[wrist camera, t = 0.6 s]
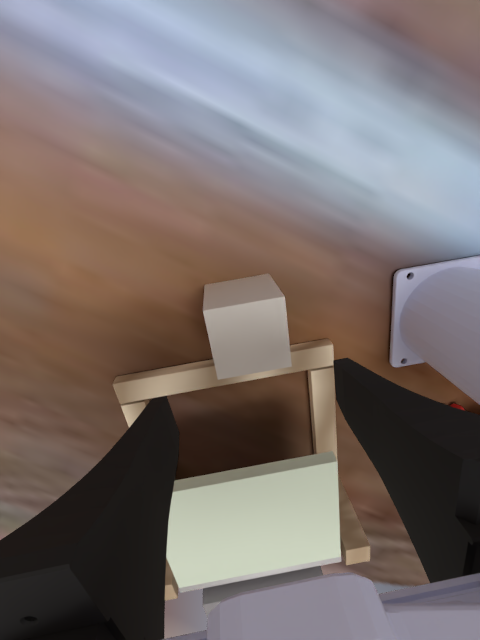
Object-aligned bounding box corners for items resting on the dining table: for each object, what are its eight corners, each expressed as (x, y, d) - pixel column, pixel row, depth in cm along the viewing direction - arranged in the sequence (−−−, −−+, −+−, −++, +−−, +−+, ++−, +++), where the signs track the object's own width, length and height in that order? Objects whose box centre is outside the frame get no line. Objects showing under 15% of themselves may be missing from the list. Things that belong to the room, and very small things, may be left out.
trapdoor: (328, 442, 20) (341, 471, 18) (334, 562, 25) (345, 594, 23) (146, 476, 20) (139, 509, 18) (191, 590, 25) (189, 625, 23)
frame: (328, 338, 23) (374, 396, 17) (335, 511, 32) (368, 596, 25) (116, 376, 23) (78, 450, 17) (178, 541, 31) (169, 635, 25)
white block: (268, 273, 21) (284, 296, 17) (275, 331, 23) (291, 366, 18) (204, 284, 21) (202, 310, 16) (216, 341, 23) (217, 379, 18)
